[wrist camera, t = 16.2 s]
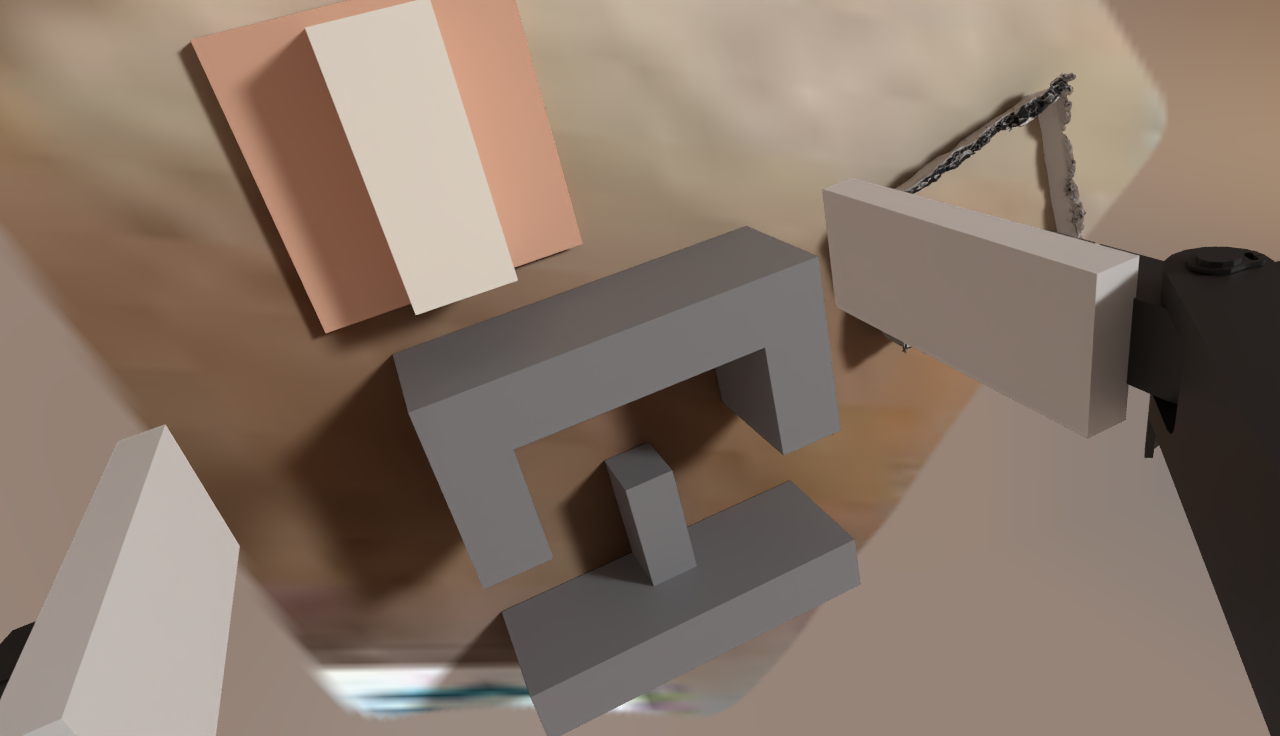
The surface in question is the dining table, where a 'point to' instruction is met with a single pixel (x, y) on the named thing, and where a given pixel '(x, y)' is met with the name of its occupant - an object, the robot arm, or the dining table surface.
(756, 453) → the dining table surface
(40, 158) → the dining table surface
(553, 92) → the dining table surface
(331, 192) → the terracotta mat
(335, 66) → the cream bar
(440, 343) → the pocket plate
